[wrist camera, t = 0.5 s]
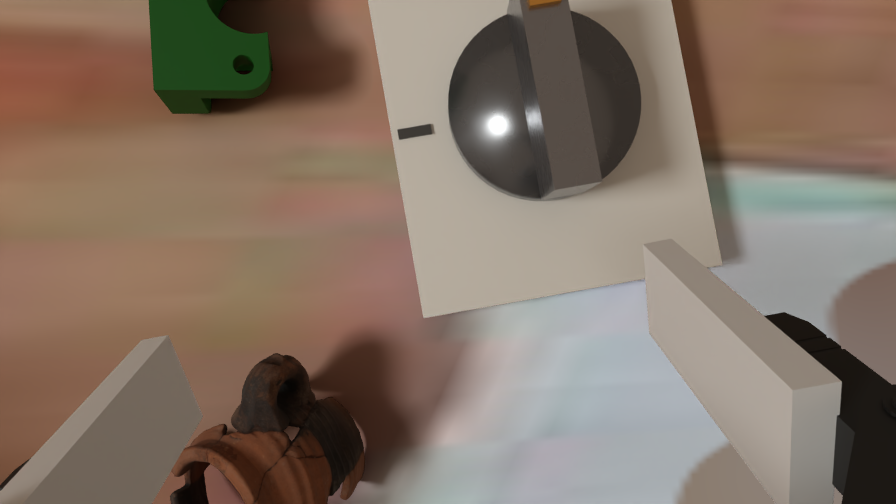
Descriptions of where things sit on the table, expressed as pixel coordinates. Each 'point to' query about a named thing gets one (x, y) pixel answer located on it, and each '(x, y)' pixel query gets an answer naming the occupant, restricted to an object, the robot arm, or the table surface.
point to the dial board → (537, 222)
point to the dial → (543, 102)
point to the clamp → (203, 56)
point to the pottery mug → (277, 443)
